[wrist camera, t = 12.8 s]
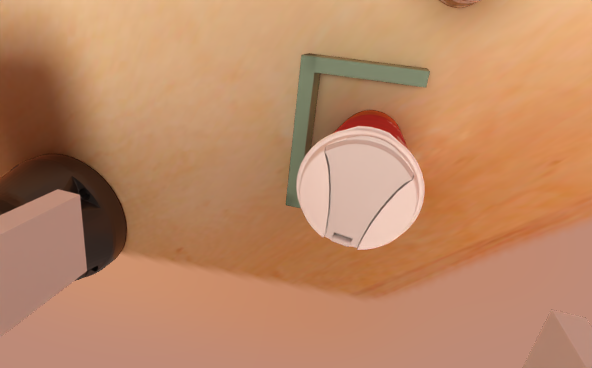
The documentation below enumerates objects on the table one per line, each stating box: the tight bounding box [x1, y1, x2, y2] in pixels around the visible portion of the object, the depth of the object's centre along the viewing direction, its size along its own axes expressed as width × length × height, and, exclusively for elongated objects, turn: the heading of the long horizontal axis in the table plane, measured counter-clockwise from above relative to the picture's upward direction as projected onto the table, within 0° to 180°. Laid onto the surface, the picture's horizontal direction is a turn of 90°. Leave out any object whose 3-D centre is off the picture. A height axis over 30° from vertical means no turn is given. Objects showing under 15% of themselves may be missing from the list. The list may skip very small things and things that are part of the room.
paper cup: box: [296, 110, 424, 250], centre depth 28 cm, size 8×8×14 cm
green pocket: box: [286, 54, 430, 208], centre depth 33 cm, size 10×13×3 cm
